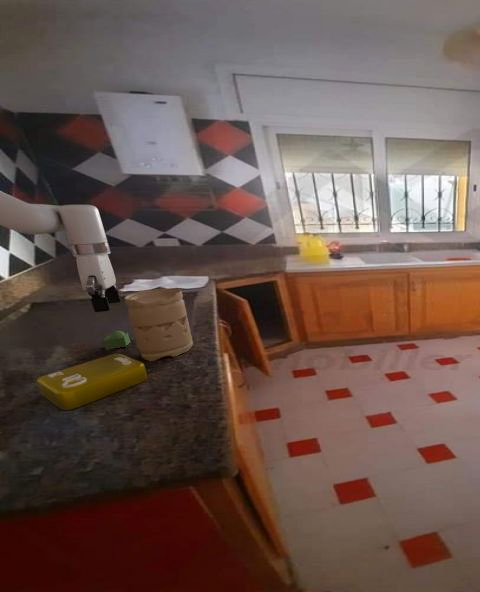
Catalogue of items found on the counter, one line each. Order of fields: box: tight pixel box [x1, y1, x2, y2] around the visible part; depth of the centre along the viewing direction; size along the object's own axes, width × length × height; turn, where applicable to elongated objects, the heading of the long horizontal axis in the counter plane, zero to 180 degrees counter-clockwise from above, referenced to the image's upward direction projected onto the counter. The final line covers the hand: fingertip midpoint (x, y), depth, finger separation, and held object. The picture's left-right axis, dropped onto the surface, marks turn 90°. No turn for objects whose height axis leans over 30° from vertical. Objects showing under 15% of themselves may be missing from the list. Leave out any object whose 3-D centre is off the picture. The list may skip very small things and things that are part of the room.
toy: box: [102, 330, 131, 351], centre depth 97 cm, size 5×4×5 cm
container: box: [124, 287, 194, 362], centre depth 92 cm, size 13×13×18 cm
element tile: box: [36, 353, 148, 411], centre depth 75 cm, size 15×15×5 cm
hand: (108, 306), depth 94 cm, fingers open, 9 cm apart
